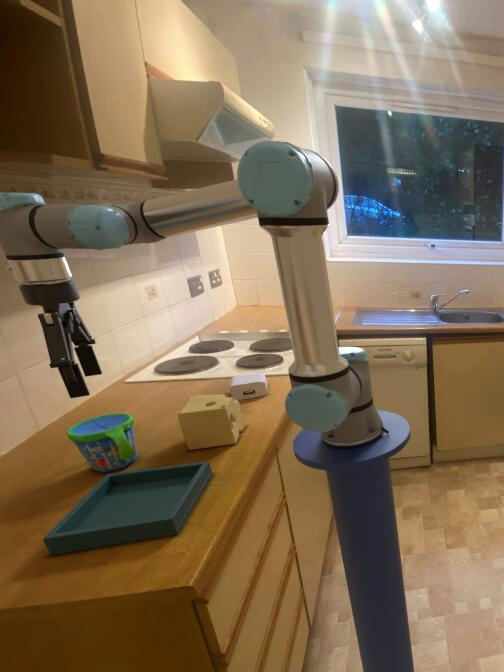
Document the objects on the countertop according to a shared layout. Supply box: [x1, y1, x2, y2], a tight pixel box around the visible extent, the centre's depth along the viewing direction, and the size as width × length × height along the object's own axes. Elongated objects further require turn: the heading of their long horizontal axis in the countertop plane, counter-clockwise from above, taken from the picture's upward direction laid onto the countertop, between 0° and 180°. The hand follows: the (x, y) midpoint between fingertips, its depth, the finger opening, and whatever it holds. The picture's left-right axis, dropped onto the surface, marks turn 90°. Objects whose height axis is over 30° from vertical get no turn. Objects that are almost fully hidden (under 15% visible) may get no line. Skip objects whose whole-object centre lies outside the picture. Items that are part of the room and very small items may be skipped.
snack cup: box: [66, 413, 138, 473], centre depth 95 cm, size 16×10×10 cm
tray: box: [42, 460, 214, 556], centre depth 82 cm, size 18×19×4 cm
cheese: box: [177, 393, 247, 451], centre depth 106 cm, size 10×11×10 cm
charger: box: [229, 371, 268, 401], centre depth 135 cm, size 5×9×15 cm
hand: (87, 385), depth 90 cm, fingers open, 13 cm apart
